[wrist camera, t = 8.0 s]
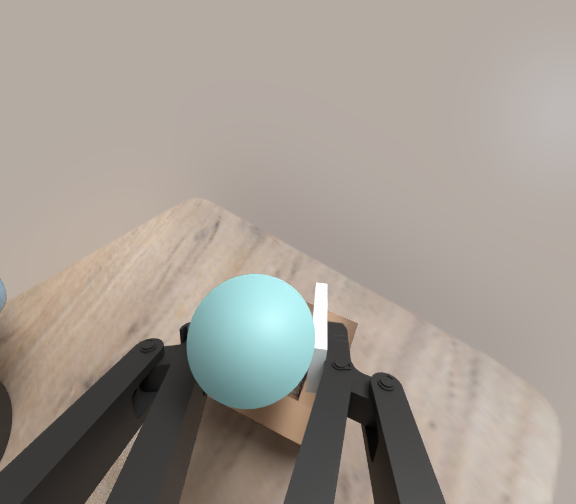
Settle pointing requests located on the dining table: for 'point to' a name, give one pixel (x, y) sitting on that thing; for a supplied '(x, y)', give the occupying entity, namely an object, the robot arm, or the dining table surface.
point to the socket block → (293, 400)
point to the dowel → (250, 341)
